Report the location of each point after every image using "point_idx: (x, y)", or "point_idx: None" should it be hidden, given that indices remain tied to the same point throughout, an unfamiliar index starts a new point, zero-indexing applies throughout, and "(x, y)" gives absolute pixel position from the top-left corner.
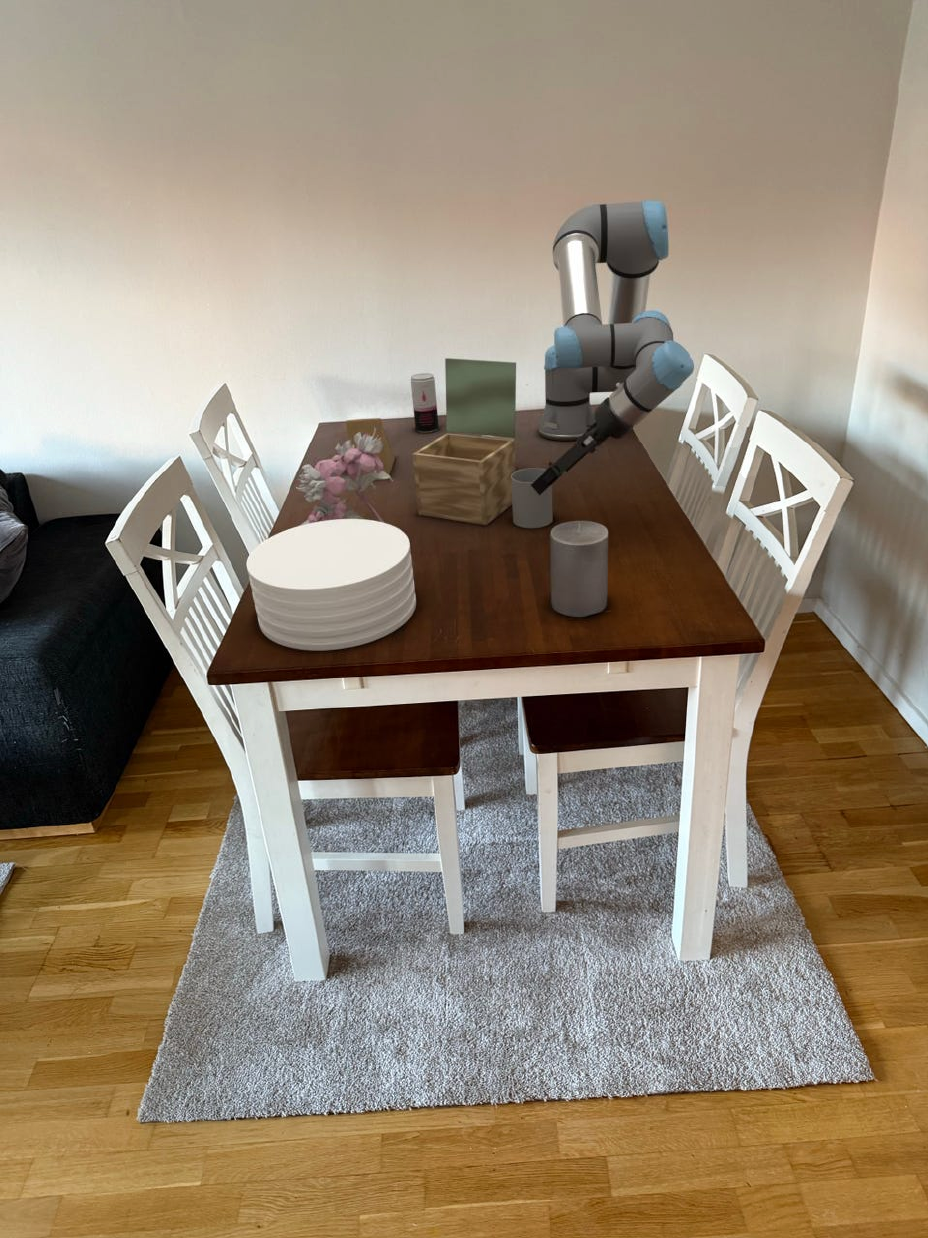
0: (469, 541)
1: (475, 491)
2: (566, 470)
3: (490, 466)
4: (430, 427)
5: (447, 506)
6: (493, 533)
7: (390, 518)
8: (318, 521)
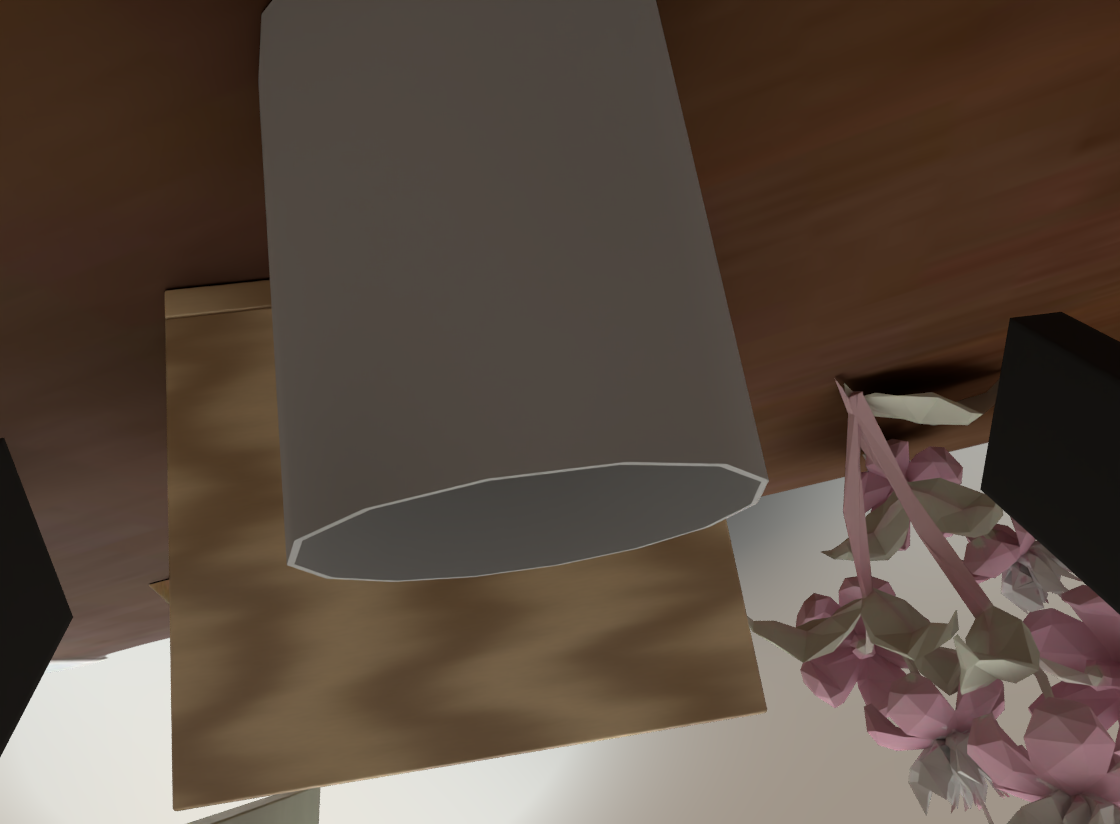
0: (929, 199)
1: None
2: (9, 472)
3: (626, 651)
4: None
5: None
6: (795, 162)
7: None
8: (879, 504)
